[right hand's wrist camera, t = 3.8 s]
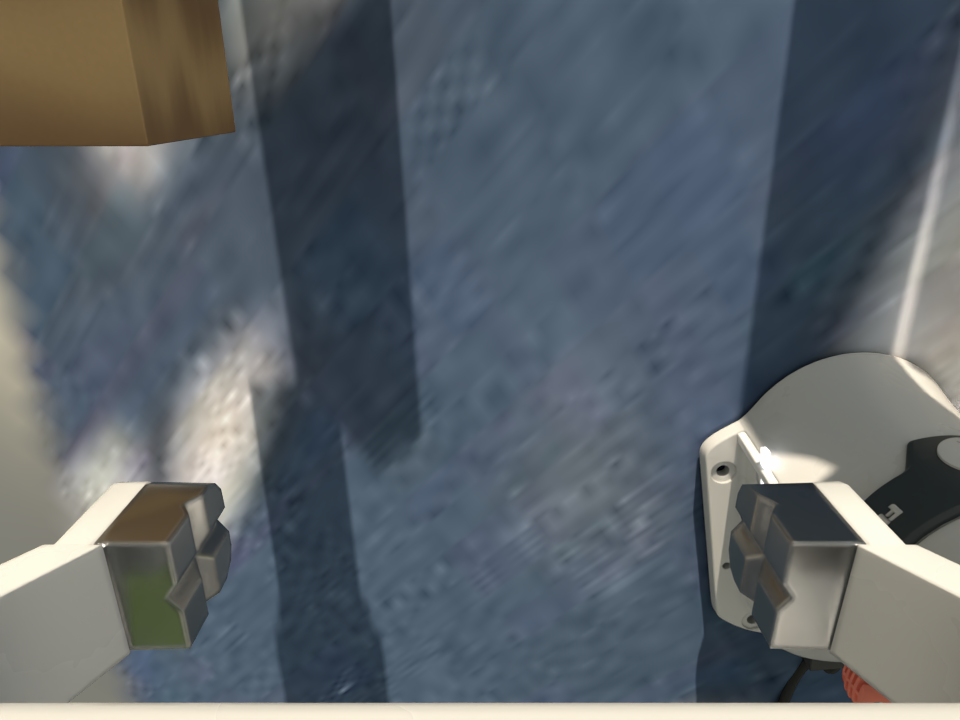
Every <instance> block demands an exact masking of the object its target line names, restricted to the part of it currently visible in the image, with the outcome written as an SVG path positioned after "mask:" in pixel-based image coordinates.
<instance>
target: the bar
mask: <svg viewBox="0 0 960 720" xmlns="http://www.w3.org/2000/svg"><path fill="white" fill-rule="evenodd" d="M233 132H235V123H234V116H233V109H232V101H231V94H230V87H229V79H228V72H227V65H226V57H225V50H224V43H223V35H222V28H221V20H220V13H219V6H218V0H0V146H151V145H157V144H163V143H170V142H176V141H182V140H189V139H195V138H201V137H207V136H214V135H220V134H226V133H233Z"/></svg>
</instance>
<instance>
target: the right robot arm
mask: <svg viewBox="0 0 960 720" xmlns="http://www.w3.org/2000/svg"><path fill="white" fill-rule="evenodd" d="M699 456H700V469H701V482H702V495H703V507H704V520H705V532H706V545H707V558H708V570H709V583H710V595H711V603H712V607H713V609H714V610H715V612H716V613H717V615H718V616H719V617H720V618H722V619H723V620H725V621H727V622H729V623H731V624H733V625H735V626H738V627H741V628H744V629H747V630H751V631H755V632H761V633H762V635H763V636H764V638H765V640H766V642H767V644H768V646H769V648H772V649H783V650H785V651H788V652H790V653H792V654H795V655H798V656H801V657H803V659H804V660H803V662H802V663H801V664H800V666H799V667H798V669H797V671H796V672H795V673H794V675H793V676H792V677H791V679H790V680H789V681H788V683H787V684H786V686H785V688H784V689H783V691H782V694H781V696H780V699H779V702H778V703H69V702H70V701H71V700H72V699H74V698H75V697H76V696H77V695H79V694H80V693H81V692H82V691H84V690H85V689H86V688H87V687H89V686H90V685H91V684H92V683H94V682H95V681H96V680H97V679H99V678H100V677H101V676H102V675H104V674H105V673H106V672H107V671H109V670H110V669H111V668H112V667H114V666H115V665H116V664H117V663H119V662H120V661H121V660H122V659H124V658H125V657H126V656H127V655H129V654H130V650H151V649H186V648H191V646H192V644H193V642H194V640H195V638H196V637H197V635H198V633H199V631H200V629H201V627H202V625H203V623H204V622H205V620H206V618H207V616H208V608H207V603H206V601H208V600H209V599H211V598H212V597H214V596H215V595H217V594H218V593H220V591H221V589H222V587H223V585H224V583H225V581H226V579H227V576H228V571H229V567H230V562H231V541H230V534H229V531H228V530H227V529H226V528H225V527H224V526H223V525H222V524H221V523H220V522H219V521H218V520H217V519H218V518H219V516H220V514H221V513H222V511H223V509H224V508H225V506H224V501H223V496H222V492H221V489H220V488H219V487H218V486H217V485H216V484H215V483H178V482H152V483H151V482H119V483H115V484H112V485H111V486H110V488H109V489H108V490H107V491H106V492H105V493H104V494H103V495H102V496H101V497H100V498H99V499H98V500H97V501H96V502H95V503H94V504H93V505H92V506H91V507H90V508H89V509H88V510H87V511H86V512H85V513H84V514H83V515H82V517H81V518H80V519H79V520H78V521H77V522H76V523H75V524H74V525H73V526H72V527H71V528H70V529H69V530H68V531H67V532H66V533H65V534H64V535H63V536H62V537H61V538H60V539H59V540H58V541H57V542H56V543H55V544H54V545H42V546H40V547H38V548H35V549H33V550H31V551H29V552H27V553H25V554H22V555H20V556H18V557H16V558H14V559H12V560H10V561H7V562H5V563H3V564H1V565H0V720H960V413H959V412H958V411H957V409H956V408H955V407H954V406H953V405H952V403H951V402H950V401H949V400H948V398H947V397H946V396H945V394H944V393H943V391H942V390H941V388H940V387H939V385H938V384H937V383H936V382H935V381H934V379H933V378H932V377H931V376H930V375H929V374H927V373H926V372H925V371H924V370H922V369H921V368H919V367H918V366H916V365H915V364H913V363H911V362H909V361H906V360H904V359H901V358H898V357H895V356H891V355H887V354H881V353H870V352H859V353H848V354H841V355H836V356H832V357H828V358H825V359H822V360H819V361H816V362H814V363H811V364H809V365H807V366H804V367H802V368H800V369H798V370H797V371H795V372H793V373H791V374H790V375H788V376H787V377H785V378H784V379H782V380H781V381H780V382H778V383H777V384H776V385H774V386H773V387H772V388H771V389H770V390H769V391H768V392H767V393H765V394H764V395H763V396H762V397H761V399H760V400H759V401H758V402H757V403H756V404H755V405H754V406H753V407H752V408H751V409H750V411H749V412H748V413H747V414H745V415H744V416H743V417H742V418H741V419H740V420H738V421H736V422H734V423H732V424H730V425H729V426H727V427H725V428H723V429H721V430H719V431H718V432H716V433H714V434H713V435H711V436H710V437H708V438H707V439H706V440H705V441H704V442H703V444H702V445H701V447H700V452H699ZM722 465H726V466H725V468H724V469H722V470H720V471H716V470H717V468H718V467H720V466H722ZM750 615H752V616H750ZM841 668H843V672H842V678H843V682H844V688H845V690H846V691H847V694H848V696H849V698H851V699H852V701H853V702H854V703H789V702H790V699H791V697H792V695H793V692H794V690H795V688H796V686H797V684H798V682H799V681H800V679H801V677H802V676H803V675H804V673H805V672H806V671H807V670H808V669H810V671H815V670H824V671H825V672H826V673H830V674H834V673H836V672H838V671H839V670H840V669H841ZM874 702H883V703H874Z"/></svg>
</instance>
